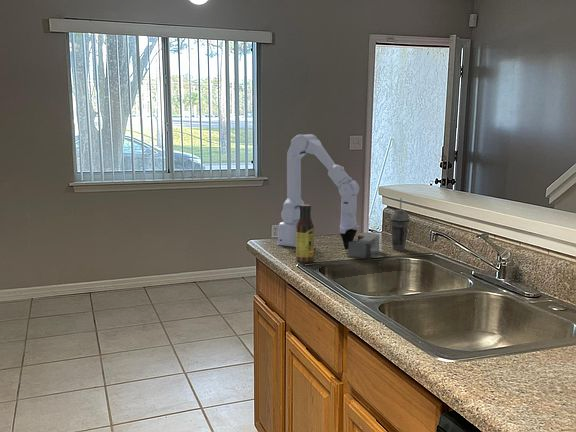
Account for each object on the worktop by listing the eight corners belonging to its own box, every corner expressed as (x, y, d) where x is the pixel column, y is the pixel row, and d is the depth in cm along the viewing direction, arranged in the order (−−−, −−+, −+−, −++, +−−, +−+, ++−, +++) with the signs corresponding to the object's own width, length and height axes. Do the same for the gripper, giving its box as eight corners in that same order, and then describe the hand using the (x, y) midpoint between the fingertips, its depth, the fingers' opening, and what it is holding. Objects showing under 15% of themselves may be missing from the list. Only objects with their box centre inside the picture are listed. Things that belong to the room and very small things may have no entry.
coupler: (348, 256, 203) (348, 239, 202) (358, 249, 215) (359, 232, 214) (369, 258, 200) (370, 241, 199) (379, 251, 212) (379, 234, 211)
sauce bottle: (311, 263, 193) (312, 206, 190) (294, 262, 195) (294, 206, 191) (314, 258, 200) (315, 204, 196) (297, 258, 201) (298, 203, 198)
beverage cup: (407, 247, 219) (409, 196, 215) (409, 251, 211) (411, 199, 208) (388, 246, 219) (390, 196, 216) (389, 251, 212) (391, 199, 209)
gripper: (352, 217, 200) (352, 254, 202) (364, 211, 213) (363, 246, 215) (334, 215, 202) (333, 252, 205) (346, 210, 215) (346, 244, 218)
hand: (347, 248), depth 210 cm, fingers closed
